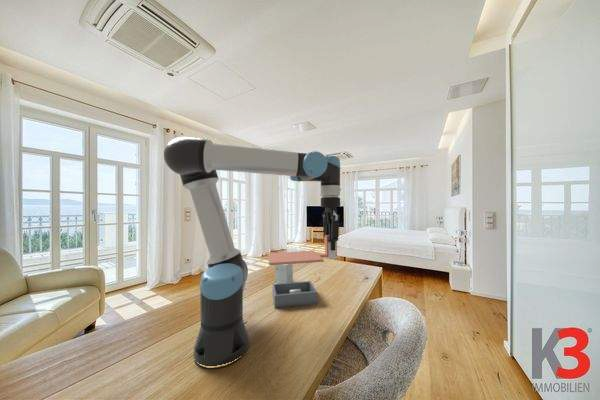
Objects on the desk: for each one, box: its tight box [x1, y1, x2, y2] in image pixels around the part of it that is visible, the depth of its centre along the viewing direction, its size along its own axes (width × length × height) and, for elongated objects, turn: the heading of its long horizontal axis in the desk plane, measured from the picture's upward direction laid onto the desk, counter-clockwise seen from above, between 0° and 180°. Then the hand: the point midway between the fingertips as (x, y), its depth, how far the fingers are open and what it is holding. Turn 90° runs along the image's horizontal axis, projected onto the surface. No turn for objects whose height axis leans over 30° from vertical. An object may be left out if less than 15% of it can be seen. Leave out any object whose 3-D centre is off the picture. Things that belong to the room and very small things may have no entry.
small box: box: [274, 264, 294, 284], centre depth 112 cm, size 8×6×10 cm
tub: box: [272, 280, 318, 309], centre depth 92 cm, size 18×12×5 cm, turn 102°
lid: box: [267, 235, 338, 266], centre depth 79 cm, size 26×13×8 cm, turn 102°
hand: (330, 257), depth 81 cm, fingers closed on lid, 2 cm apart
